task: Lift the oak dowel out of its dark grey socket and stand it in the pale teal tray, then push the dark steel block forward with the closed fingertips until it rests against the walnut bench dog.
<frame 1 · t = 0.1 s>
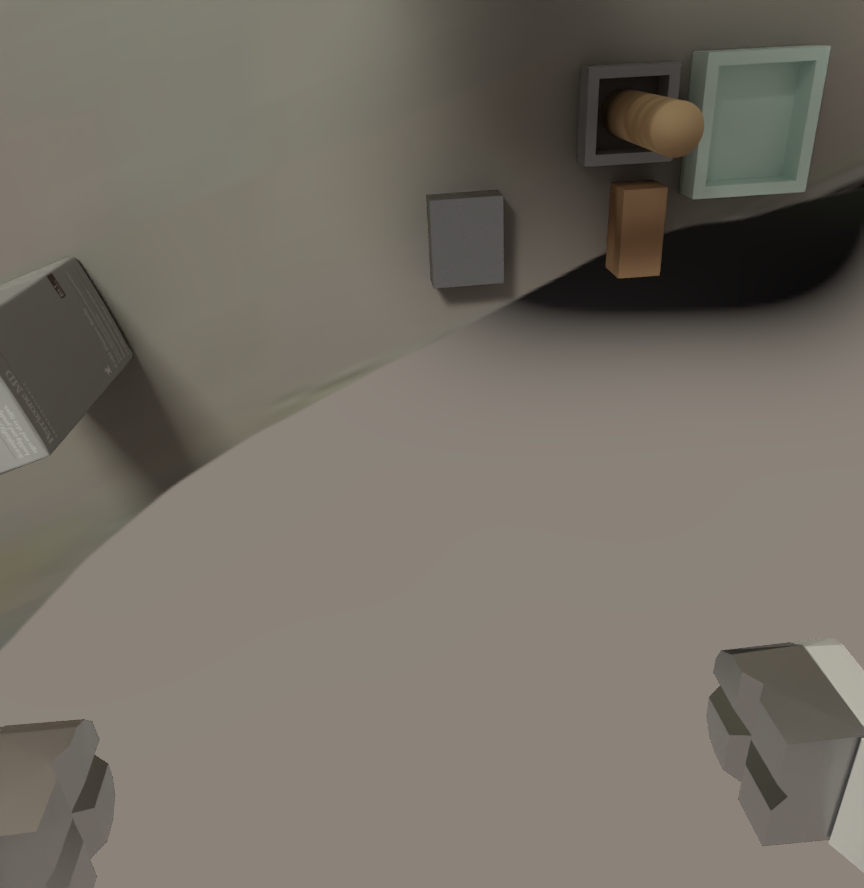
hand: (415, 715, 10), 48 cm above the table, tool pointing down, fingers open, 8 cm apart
tray: (742, 121, 53), on the table
steel block: (462, 234, 56), on the table
bench dog: (628, 224, 56), on the table
socket: (622, 112, 52), on the table
skincare box: (61, 319, 55), on the table
dowel: (647, 120, 48), in the socket
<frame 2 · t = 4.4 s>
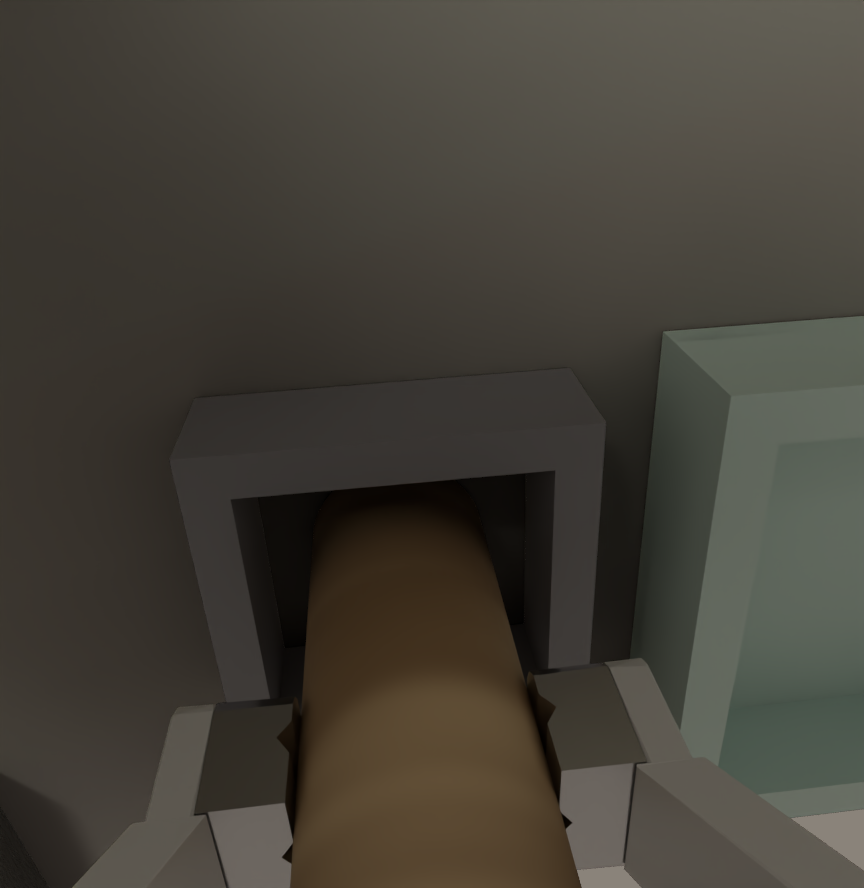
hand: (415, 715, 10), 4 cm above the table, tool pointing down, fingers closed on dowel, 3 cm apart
tray: (844, 538, 15), on the table
socket: (397, 537, 14), on the table
dowel: (422, 773, 9), in the socket, touching gripper
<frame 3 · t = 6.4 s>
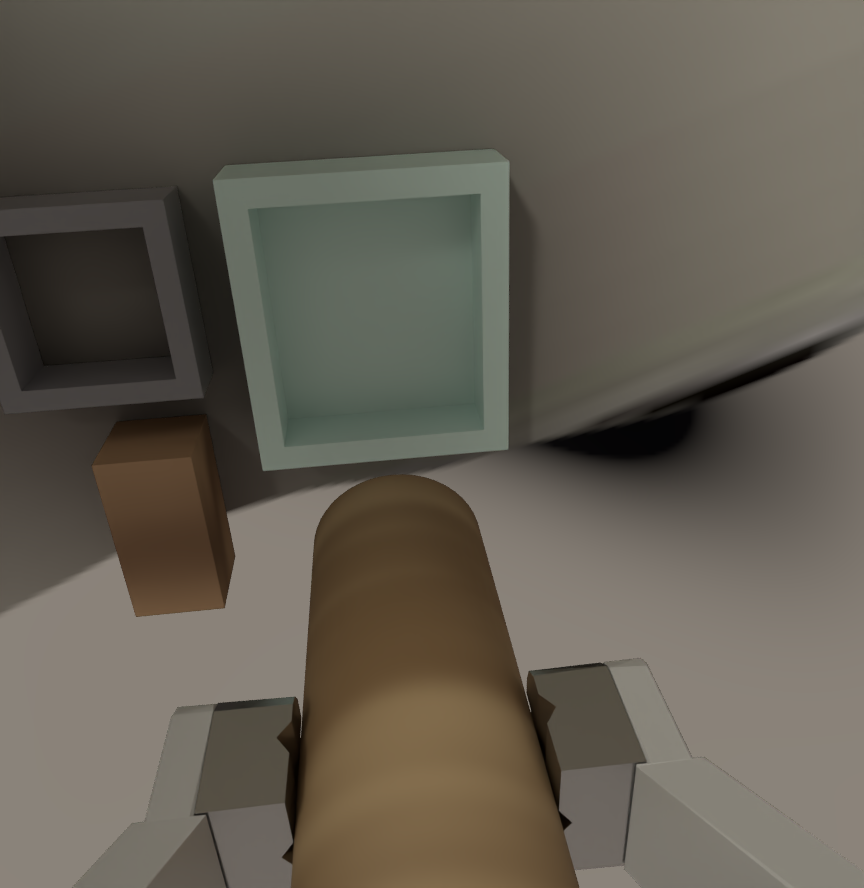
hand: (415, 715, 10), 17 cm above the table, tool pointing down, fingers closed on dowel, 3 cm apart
tray: (373, 302, 25), on the table
bench dog: (179, 492, 28), on the table
socket: (98, 291, 24), on the table
dowel: (422, 778, 10), point 18 cm above the table, touching gripper
when the fingers open (6 cm above the table, at t = 8.7 s): dowel drops 1 cm, resting on tray.
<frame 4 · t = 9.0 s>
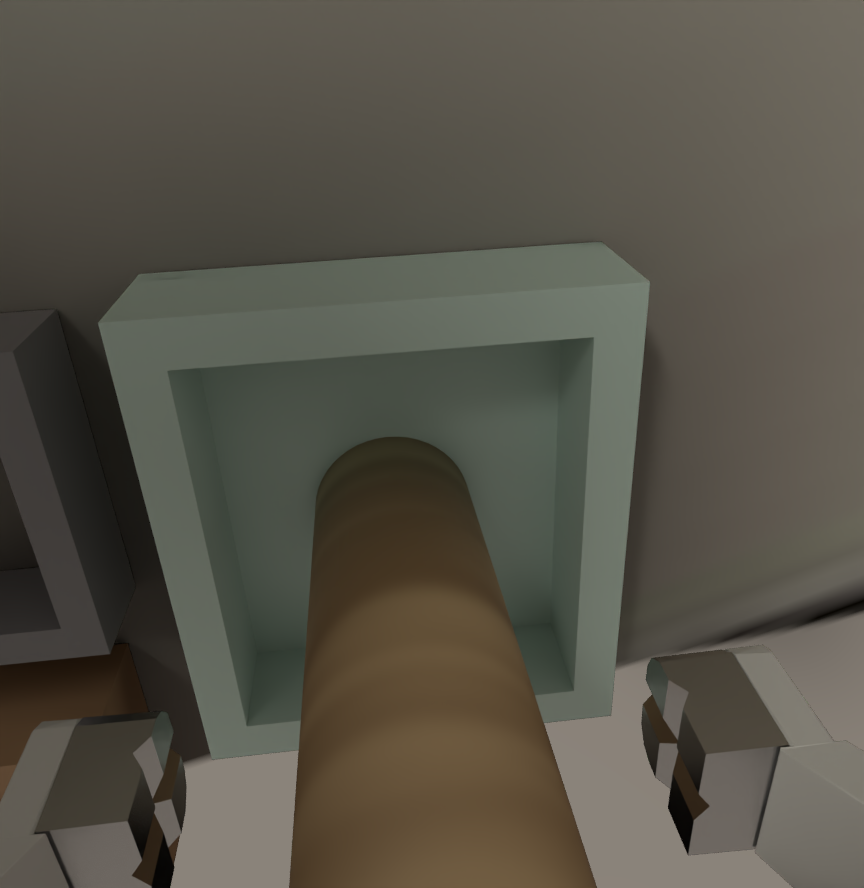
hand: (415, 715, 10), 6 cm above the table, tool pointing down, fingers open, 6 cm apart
tray: (392, 480, 16), on the table
bench dog: (92, 747, 18), on the table
dowel: (414, 681, 11), in the tray
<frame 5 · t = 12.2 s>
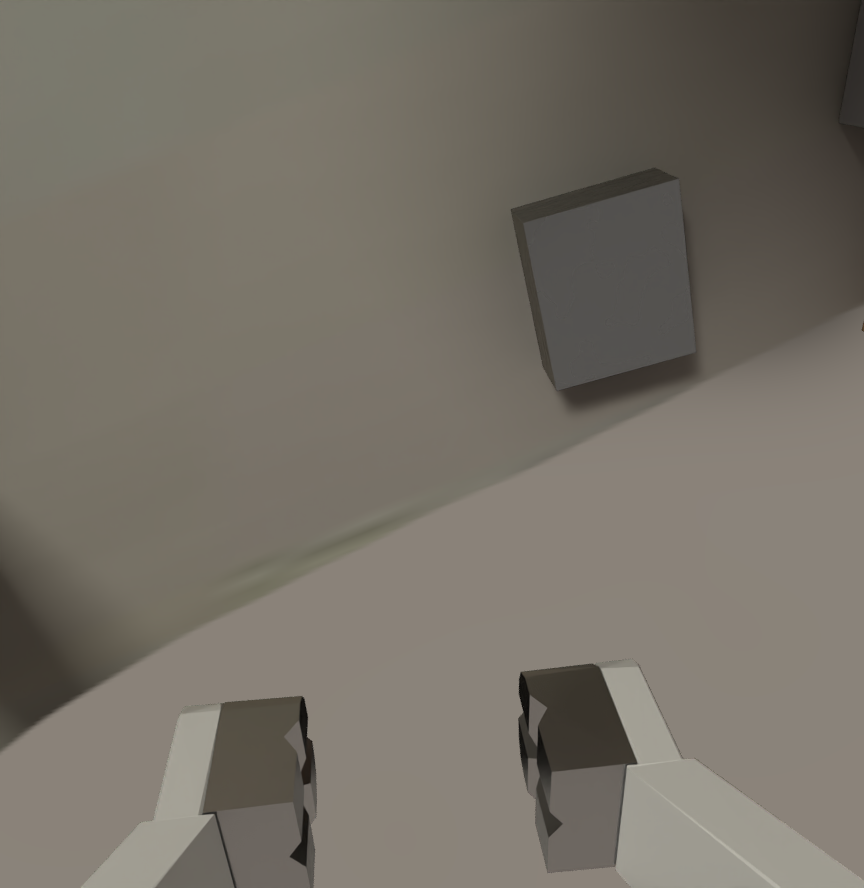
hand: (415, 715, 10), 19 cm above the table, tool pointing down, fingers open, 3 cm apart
steel block: (593, 270, 28), on the table
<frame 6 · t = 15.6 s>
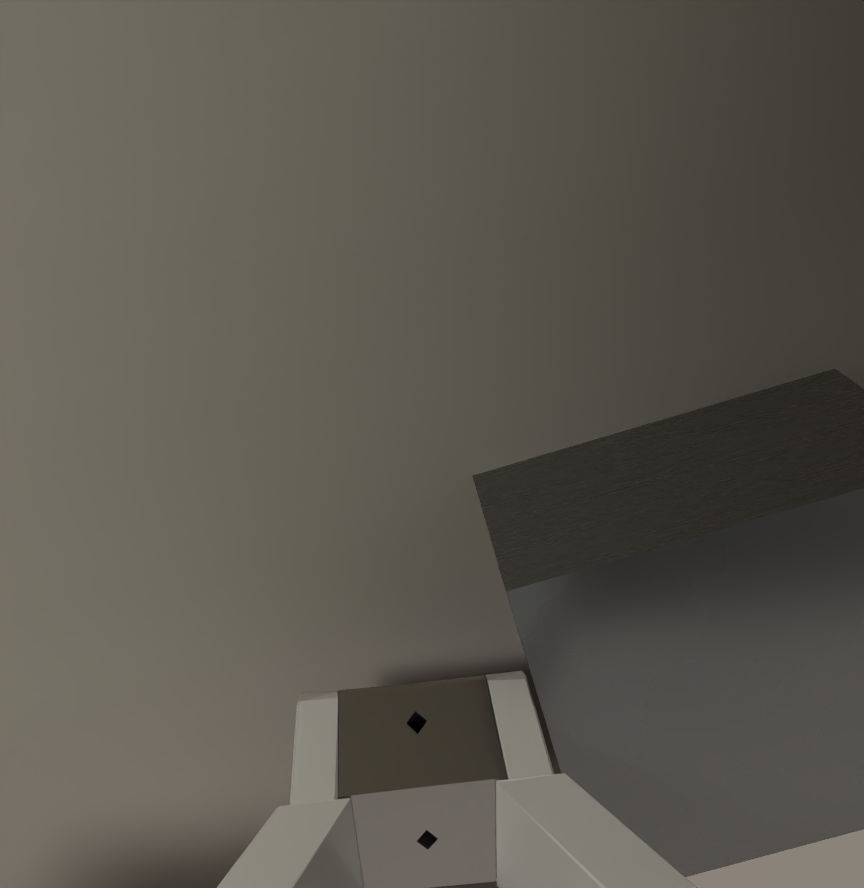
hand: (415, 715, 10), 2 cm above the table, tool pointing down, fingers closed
steel block: (677, 587, 12), on the table, touching gripper
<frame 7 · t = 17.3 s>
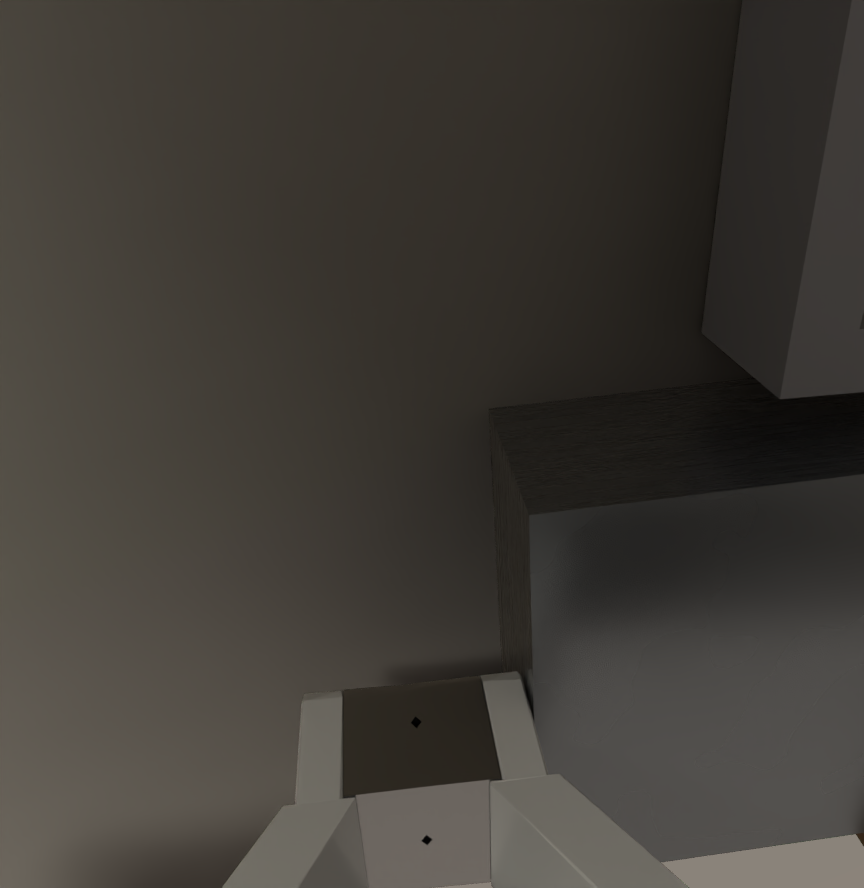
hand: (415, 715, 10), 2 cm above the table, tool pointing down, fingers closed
steel block: (664, 571, 12), on the table, touching gripper
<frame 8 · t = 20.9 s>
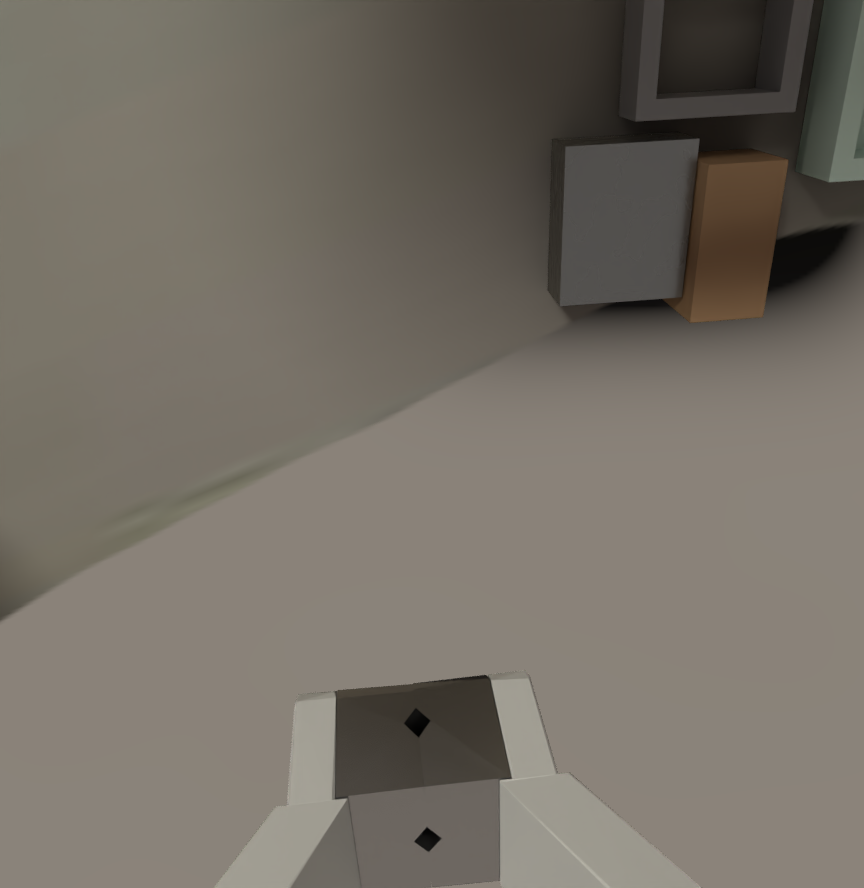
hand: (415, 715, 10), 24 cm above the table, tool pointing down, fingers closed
steel block: (607, 212, 32), on the table
bench dog: (705, 227, 32), on the table
socket: (703, 23, 29), on the table
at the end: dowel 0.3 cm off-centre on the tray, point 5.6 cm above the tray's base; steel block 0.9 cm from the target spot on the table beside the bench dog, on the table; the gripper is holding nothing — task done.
